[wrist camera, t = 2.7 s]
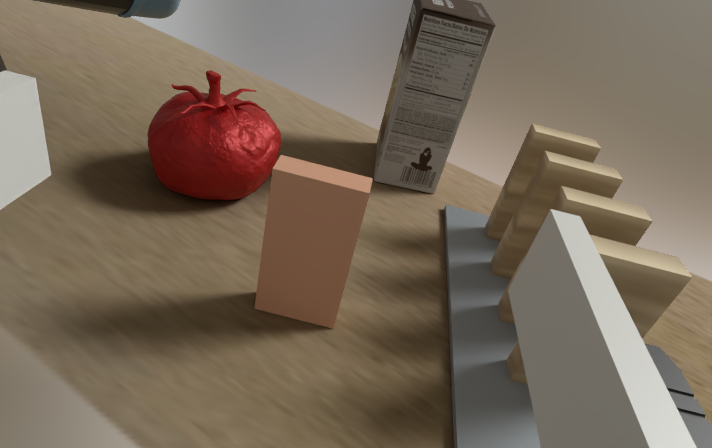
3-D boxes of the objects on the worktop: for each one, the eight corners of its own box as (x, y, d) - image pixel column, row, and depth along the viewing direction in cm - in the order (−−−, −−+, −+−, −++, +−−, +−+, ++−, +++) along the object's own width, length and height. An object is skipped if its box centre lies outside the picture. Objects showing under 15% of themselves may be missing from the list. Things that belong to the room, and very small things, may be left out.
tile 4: (555, 290, 37) (623, 179, 31) (492, 274, 37) (549, 160, 31) (550, 277, 38) (615, 168, 33) (490, 261, 38) (544, 150, 33)
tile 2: (590, 400, 29) (692, 277, 23) (510, 380, 29) (592, 251, 23) (583, 379, 30) (677, 257, 24) (506, 359, 30) (583, 232, 24)
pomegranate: (259, 228, 37) (275, 117, 31) (127, 199, 36) (119, 80, 30) (283, 166, 45) (299, 68, 39) (175, 141, 44) (176, 38, 38)
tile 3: (570, 338, 33) (652, 221, 27) (500, 320, 33) (567, 199, 27) (565, 322, 34) (642, 206, 29) (497, 304, 34) (561, 185, 28)
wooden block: (542, 251, 41) (600, 148, 35) (486, 237, 41) (535, 131, 35) (539, 241, 42) (594, 139, 37) (484, 227, 42) (532, 123, 37)
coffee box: (374, 142, 53) (415, -15, 44) (430, 154, 54) (481, 2, 45) (372, 182, 46) (420, 4, 37) (436, 196, 46) (500, 24, 37)
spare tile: (333, 328, 30) (369, 193, 24) (254, 308, 30) (272, 168, 24) (337, 310, 31) (372, 178, 25) (262, 291, 31) (281, 154, 25)
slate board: (457, 537, 21) (461, 532, 21) (444, 209, 44) (445, 204, 44) (718, 602, 21) (725, 598, 21) (568, 241, 45) (571, 237, 44)
